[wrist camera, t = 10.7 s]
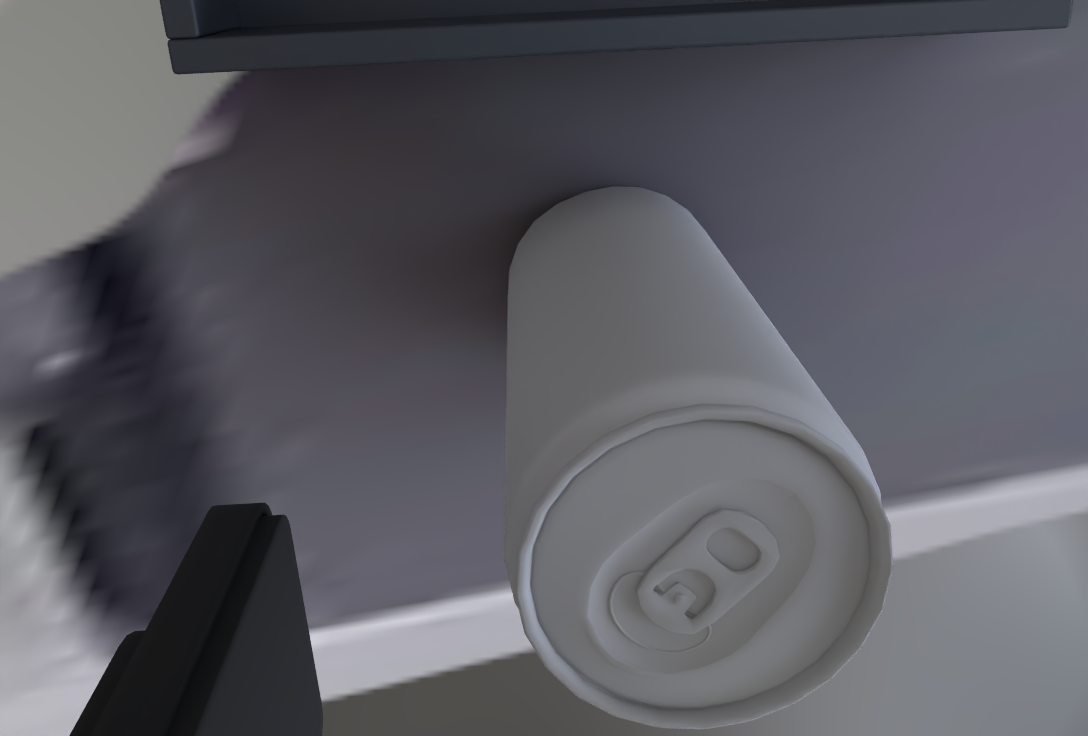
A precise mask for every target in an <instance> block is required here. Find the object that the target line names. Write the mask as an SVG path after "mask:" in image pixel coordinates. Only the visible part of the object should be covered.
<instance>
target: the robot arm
mask: <svg viewBox="0 0 1088 736" xmlns="http://www.w3.org/2000/svg"><path fill="white" fill-rule="evenodd" d="M322 727H323V712H322V703H321V697H320V692H319V686H318V680H317V675H316V669H315V664H314V658H313V652H312V647H311V641H310V635H309V630H308V624H307V619H306V613H305V607H304V602H303V596H302V590H301V585H300V579H299V574H298V568H297V562H296V557H295V551H294V545H293V540H292V534H291V529H290V524H289V521H288V519H287V517H286V516H285V515H272V513H271V510H270V508H269V506H268V505H267V504H266V503H251V504H234V505H216V506H212V507H211V509H210V510H209V511H208V513H207V515H206V517H205V519H204V521H203V522H202V524H201V526H200V528H199V530H198V532H197V534H196V536H195V538H194V540H193V541H192V543H191V545H190V547H189V549H188V551H187V553H186V555H185V557H184V559H183V560H182V562H181V564H180V566H179V568H178V570H177V572H176V574H175V576H174V578H173V579H172V581H171V583H170V585H169V587H168V589H167V591H166V593H165V595H164V596H163V598H162V600H161V602H160V604H159V606H158V608H157V610H156V612H155V614H154V615H153V617H152V619H151V621H150V623H149V625H148V627H147V629H146V631H134V632H132V633H131V634H129V635H127V636H126V637H125V639H124V640H123V641H122V643H121V644H120V645H119V647H118V649H117V651H116V653H115V654H114V656H113V658H112V660H111V662H110V663H109V665H108V667H107V669H106V671H105V672H104V674H103V676H102V678H101V680H100V681H99V683H98V685H97V687H96V689H95V691H94V692H93V694H92V696H91V698H90V700H89V701H88V703H87V705H86V707H85V709H84V710H83V712H82V714H81V716H80V718H79V719H78V721H77V723H76V725H75V727H74V729H73V730H72V732H71V734H70V736H322Z"/></svg>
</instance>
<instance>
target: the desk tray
mask: <svg viewBox="0 0 1088 736" xmlns="http://www.w3.org/2000/svg"><path fill="white" fill-rule="evenodd" d="M160 5H161V10H162V16H163V21H164V27H165V32H166V36H167V38H169V39H170V40H169V41H168V48H169V54H170V59H171V64H172V70H173V72H174V73H175V74H193V73H212V72H231V71H251V70H270V69H289V68H308V67H327V66H346V65H365V64H385V63H404V62H423V61H442V60H461V59H480V58H500V57H519V56H538V55H557V54H576V53H595V52H614V51H634V50H653V49H672V48H691V47H710V46H729V45H749V44H768V43H787V42H806V41H825V40H844V39H863V38H883V37H902V36H921V35H940V34H959V33H978V32H998V31H1017V30H1036V29H1055V28H1066V27H1068V26H1069V24H1070V19H1071V13H1072V6H1073V0H160Z"/></svg>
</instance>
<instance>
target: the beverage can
mask: <svg viewBox="0 0 1088 736" xmlns="http://www.w3.org/2000/svg"><path fill="white" fill-rule="evenodd" d="M504 558H505V564H506V568H507V572H508V576H509V580H510V585H511V589H512V593H513V597H514V601H515V603H516V605H517V607H518V609H519V612H520V616H521V620H522V624H523V628H524V632H525V635H526V636H527V638H528V639H529V641H530V643H531V644H532V646H533V648H534V649H535V651H536V652H537V654H538V655H539V657H540V659H541V660H542V662H543V664H544V665H545V667H546V669H547V670H549V671H550V672H551V673H552V674H553V675H554V676H555V677H556V678H557V679H558V680H560V681H561V682H562V683H563V684H564V685H565V686H566V687H567V688H568V689H570V691H572V692H573V693H574V694H575V695H576V696H577V697H579V698H580V699H583V700H584V701H586V702H588V703H590V704H593V705H594V706H596V707H598V708H600V709H602V710H604V711H606V712H608V713H610V714H611V715H613V716H615V717H619V718H623V719H627V720H630V721H634V722H639V723H643V724H646V725H650V726H654V727H658V728H684V729H708V728H713V727H719V726H725V725H731V724H737V723H743V722H749V721H752V720H755V719H757V718H760V717H762V716H765V715H767V714H770V713H772V712H775V711H777V710H780V709H782V708H785V707H788V706H790V705H793V704H794V703H796V702H797V701H799V700H800V699H802V698H803V697H805V696H806V695H808V694H809V693H811V692H813V691H814V690H815V689H817V688H819V687H820V686H821V685H823V684H825V683H826V682H828V681H829V680H831V679H832V678H833V677H834V676H835V675H836V674H837V673H838V671H839V670H840V669H841V668H842V667H843V666H844V665H845V664H846V663H847V662H848V661H849V660H850V659H851V658H852V657H853V656H854V655H855V654H856V652H858V651H859V649H860V648H861V647H862V646H863V644H864V642H865V640H866V639H867V637H868V635H869V633H870V632H871V630H872V628H873V626H874V624H875V623H876V621H877V619H878V618H879V616H880V614H881V612H882V611H883V608H884V604H885V600H886V595H887V591H888V587H889V583H890V579H891V575H892V570H893V558H892V542H891V526H890V523H889V521H888V518H887V516H886V514H885V511H884V509H883V506H882V504H881V494H880V490H879V488H878V485H877V483H876V480H875V478H874V475H873V473H872V470H871V468H870V466H869V463H868V461H867V458H866V456H865V453H864V451H863V450H862V448H861V446H860V445H859V443H858V442H857V441H856V439H855V438H854V436H853V435H852V434H851V432H850V431H849V430H848V428H847V427H846V425H845V424H844V423H843V421H842V420H841V418H840V417H839V416H838V414H837V413H836V412H835V410H834V409H833V407H832V406H831V405H830V403H829V402H828V400H827V399H826V398H825V396H824V395H823V394H822V392H821V391H820V389H819V388H818V387H817V385H816V384H815V382H814V381H813V380H812V378H811V377H810V375H809V374H808V373H807V371H806V370H805V369H804V367H803V366H802V364H801V363H800V362H799V360H798V359H797V357H796V356H795V355H794V353H793V352H792V351H791V349H790V348H789V346H788V345H787V344H786V342H785V341H784V339H783V338H782V337H781V335H780V334H779V332H778V331H777V330H776V328H775V327H774V326H773V324H772V323H771V321H770V320H769V319H768V317H767V316H766V314H765V313H764V312H763V310H762V309H761V308H760V306H759V305H758V303H757V302H756V301H755V299H754V298H753V296H752V295H751V294H750V292H749V291H748V290H747V288H746V287H745V285H744V284H743V283H742V281H741V280H740V278H739V277H738V276H737V274H736V273H735V271H734V270H733V269H732V267H731V266H730V265H729V263H728V262H727V260H726V259H725V258H724V256H723V255H722V253H721V252H720V251H719V249H718V248H717V247H716V245H715V244H714V242H713V241H712V240H711V238H710V237H709V235H708V234H707V233H706V231H705V230H704V229H703V228H702V226H701V225H700V224H699V223H698V221H697V220H696V219H695V218H694V217H693V215H692V214H691V213H690V212H689V210H687V209H686V208H684V207H683V206H681V205H680V204H678V203H677V202H675V201H674V200H672V199H671V198H669V197H668V196H666V195H663V194H660V193H657V192H654V191H651V190H648V189H645V188H642V187H620V186H612V187H607V188H602V189H597V190H592V191H587V192H583V193H581V194H579V195H576V196H574V197H572V198H569V199H567V200H565V201H562V202H560V203H558V204H556V205H555V206H554V207H552V208H551V209H550V210H548V211H547V212H546V213H544V214H543V215H542V216H540V217H539V218H538V219H536V220H535V221H534V222H533V224H532V225H531V226H530V228H529V229H528V231H527V232H526V233H525V235H524V236H523V238H522V239H521V240H520V242H519V243H518V246H517V249H516V252H515V254H514V257H513V260H512V263H511V266H510V269H509V284H508V317H507V386H506V454H505V523H504Z"/></svg>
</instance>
